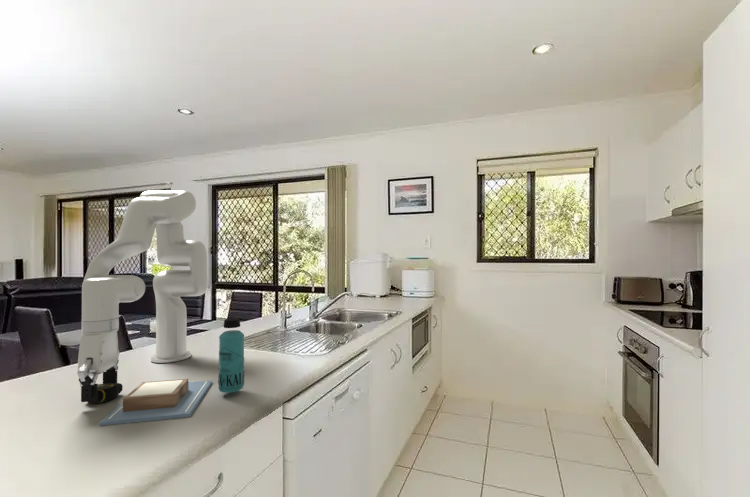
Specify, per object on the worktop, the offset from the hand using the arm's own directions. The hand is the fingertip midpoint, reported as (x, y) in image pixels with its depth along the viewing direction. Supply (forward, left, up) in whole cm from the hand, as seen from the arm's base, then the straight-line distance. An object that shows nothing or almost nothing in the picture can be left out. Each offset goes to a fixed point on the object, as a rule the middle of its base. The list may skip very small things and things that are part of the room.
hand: (100, 393), depth 90 cm
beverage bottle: (+3, +32, -2) cm, 32 cm away
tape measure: (-1, 0, -2) cm, 3 cm away
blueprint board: (+4, +16, -2) cm, 17 cm away
